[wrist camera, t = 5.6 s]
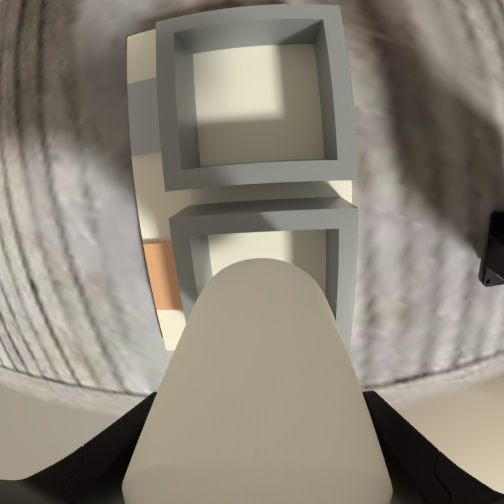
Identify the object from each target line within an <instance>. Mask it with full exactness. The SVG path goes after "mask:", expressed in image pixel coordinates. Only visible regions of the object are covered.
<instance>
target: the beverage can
mask: <svg viewBox="0 0 504 504" xmlns="http://www.w3.org/2000/svg"><path fill="white" fill-rule="evenodd" d="M122 492H123V497H124V501H125V504H390V501H391V498H392V494H393V488H392V484H391V480H390V477H389V474H388V470H387V467H386V464H385V460H384V457H383V454H382V451H381V447H380V444H379V441H378V438H377V435H376V432H375V429H374V426H373V423H372V420H371V417H370V414H369V411H368V408H367V405H366V402H365V399H364V396H363V393H362V390H361V388H360V385H359V382H358V379H357V376H356V374H355V371H354V368H353V365H352V363H351V360H350V357H349V355H348V352H347V349H346V347H345V344H344V341H343V339H342V336H341V334H340V331H339V328H338V326H337V323H336V321H335V318H334V316H333V313H332V311H331V308H330V306H329V304H328V301H327V299H326V297H325V295H324V293H323V291H322V289H321V288H320V286H319V285H318V284H317V283H316V281H315V280H314V279H313V278H312V277H311V276H310V275H309V274H307V273H306V272H305V271H303V270H302V269H300V268H299V267H297V266H295V265H293V264H290V263H288V262H285V261H281V260H277V259H271V258H253V259H247V260H243V261H239V262H236V263H234V264H231V265H229V266H227V267H225V268H224V269H222V270H221V271H219V272H218V273H217V274H215V275H214V276H213V277H212V278H211V279H210V280H209V281H208V282H207V284H206V285H205V286H204V288H203V289H202V291H201V293H200V295H199V297H198V299H197V301H196V303H195V305H194V307H193V309H192V312H191V314H190V316H189V318H188V321H187V323H186V325H185V328H184V330H183V332H182V335H181V337H180V339H179V342H178V344H177V346H176V349H175V351H174V353H173V356H172V358H171V360H170V363H169V365H168V368H167V370H166V372H165V375H164V377H163V380H162V382H161V385H160V387H159V389H158V392H157V394H156V397H155V399H154V402H153V404H152V407H151V409H150V412H149V414H148V417H147V419H146V422H145V424H144V427H143V430H142V432H141V435H140V437H139V440H138V442H137V445H136V448H135V450H134V453H133V455H132V458H131V461H130V463H129V466H128V469H127V472H126V474H125V477H124V480H123V483H122Z"/></svg>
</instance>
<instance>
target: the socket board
mask: <svg viewBox="0 0 504 504" xmlns="http://www.w3.org/2000/svg"><path fill="white" fill-rule="evenodd" d="M127 94H128V116H129V132H130V145H131V156H132V167H133V176H134V184H135V193H136V200H137V208H138V215H139V221H140V228H141V234H142V240H143V246H144V251H145V257H146V262H147V268H148V273H149V278H150V283H151V287H152V292H153V297H154V301H155V306H156V310H157V314H158V318H159V323H160V327H161V331H162V335H163V339H164V342H165V346H166V350H173V351H175V349H176V346H177V344H178V342H179V339H180V337H181V335H182V332H183V330H184V328H185V325H186V323H187V321H188V318H189V316H190V314H191V312H192V309H193V307H194V305H195V303H196V301H197V299H198V297H199V295H200V293H201V291H202V289H203V288H204V286H205V285H206V284H207V282H208V281H209V280H210V279H211V278H212V277H213V276H214V275H215V274H217V273H218V272H219V271H221V270H222V269H224V268H225V267H227V266H229V265H231V264H234V263H236V262H239V261H243V260H247V259H253V258H271V259H277V260H281V261H285V262H288V263H290V264H293V265H295V266H297V267H299V268H300V269H302V270H303V271H305V272H306V273H307V274H309V275H310V276H311V277H312V278H313V279H314V280H315V281H316V283H317V284H318V285H319V286H320V288H321V289H322V291H323V293H324V295H325V297H326V299H327V301H328V304H329V306H330V308H331V311H332V313H333V316H334V318H335V321H336V323H337V326H338V328H339V331H340V334H341V336H342V339H343V341H344V344H345V347H346V349H347V352H348V355H349V349H350V340H351V331H352V322H353V311H354V299H355V285H356V269H357V246H358V208H357V207H356V206H354V205H353V204H352V180H358V165H357V143H356V127H355V114H354V102H353V92H352V83H351V74H350V66H349V59H348V52H347V45H346V39H345V33H344V27H343V21H342V16H341V11H340V6H339V5H323V4H272V5H256V6H244V7H235V8H226V9H219V10H212V11H206V12H200V13H195V14H189V15H184V16H180V17H175V18H171V19H166V20H162V21H158V22H156V29H153V30H149V31H145V32H142V33H138V34H135V35H132V36H128V37H127Z"/></svg>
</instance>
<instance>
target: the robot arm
mask: <svg viewBox="0 0 504 504" xmlns="http://www.w3.org/2000/svg"><path fill="white" fill-rule="evenodd" d="M496 216H497V218H496ZM487 279H488V280H487ZM482 284H483V285H484V286H485V287H489V286H495V285H502V284H504V211H494V212H493V213H492V215H491V223H490V232H489V240H488V248H487V254H486V260H485V266H484V272H483V277H482ZM362 393H363V396H364V399H365V402H366V405H367V408H368V411H369V414H370V417H371V420H372V423H373V426H374V429H375V432H376V435H377V438H378V441H379V444H380V447H381V451H382V454H383V457H384V460H385V464H386V467H387V470H388V474H389V477H390V480H391V484H392V488H393V494H392V498H391V501H390V504H504V494H502V493H499V492H497V491H494V490H492V489H491V488H489V487H488V486H486V485H485V484H483V483H481V482H480V481H478V480H477V479H476V478H474V477H473V476H471V475H469V474H468V473H467V472H465V471H464V470H462V469H461V468H460V467H458V466H457V465H456V464H455V463H453V462H452V461H451V460H450V459H449V458H447V457H446V456H445V455H444V454H443V453H442V452H439V450H438V449H437V448H436V447H435V446H434V445H433V444H432V443H431V442H429V441H428V440H427V439H426V438H425V437H424V436H423V435H422V434H421V433H419V432H418V431H417V430H416V429H415V428H414V427H413V426H412V425H411V424H410V423H409V422H407V421H406V420H405V419H404V418H403V417H402V416H401V415H400V414H399V413H398V412H397V411H396V410H394V409H393V408H392V407H391V406H390V405H389V404H388V403H387V402H386V401H385V400H384V399H383V398H381V397H380V396H379V395H378V394H377V393H376V392H375V391H364V392H362ZM156 394H157V392H153V393H152V394H150V395H149V396H148V397H147V398H145V399H144V400H143V401H142V402H140V403H139V404H138V405H136V406H135V407H134V408H132V409H131V410H130V411H129V412H127V413H126V414H125V415H123V416H122V417H121V418H119V419H118V420H117V421H115V422H114V423H113V424H111V425H110V426H109V427H107V428H106V429H105V430H104V431H102V432H101V433H99V434H98V435H97V436H95V437H94V438H92V439H91V440H90V441H88V442H87V443H86V444H84V446H81V447H80V448H78V449H77V450H76V451H74V452H73V453H71V454H70V455H68V456H67V457H65V458H64V459H62V460H60V461H58V462H57V463H55V464H53V465H51V466H49V467H48V468H46V469H44V470H42V471H40V472H38V473H36V474H34V475H32V476H30V477H28V478H25V479H22V480H14V481H13V480H0V504H125V501H124V497H123V492H122V483H123V480H124V477H125V474H126V472H127V469H128V466H129V463H130V461H131V458H132V455H133V453H134V450H135V448H136V445H137V442H138V440H139V437H140V435H141V432H142V430H143V427H144V424H145V422H146V419H147V417H148V414H149V412H150V409H151V407H152V404H153V402H154V399H155V397H156Z"/></svg>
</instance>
